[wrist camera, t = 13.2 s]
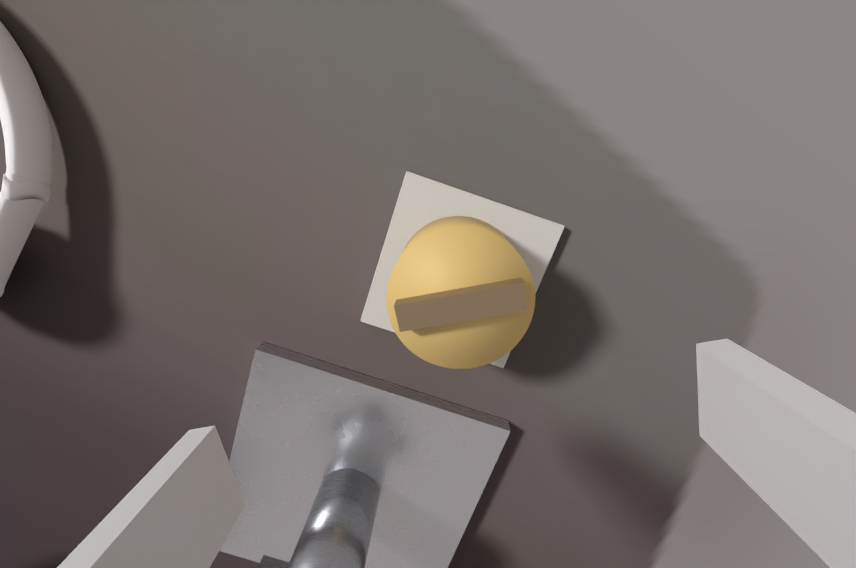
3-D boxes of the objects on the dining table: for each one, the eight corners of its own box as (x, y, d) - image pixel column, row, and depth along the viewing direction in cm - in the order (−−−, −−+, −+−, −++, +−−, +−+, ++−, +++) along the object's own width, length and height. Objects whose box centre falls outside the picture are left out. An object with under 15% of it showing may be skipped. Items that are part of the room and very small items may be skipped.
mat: (502, 363, 28) (503, 368, 28) (361, 317, 28) (360, 321, 27) (562, 224, 25) (564, 226, 25) (407, 171, 25) (406, 171, 24)
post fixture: (427, 597, 34) (419, 765, 25) (217, 534, 33) (124, 683, 24) (508, 420, 29) (537, 545, 20) (263, 341, 28) (169, 431, 19)
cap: (411, 341, 27) (401, 388, 21) (385, 228, 25) (367, 247, 20) (526, 322, 27) (548, 365, 21) (509, 204, 25) (528, 216, 19)
